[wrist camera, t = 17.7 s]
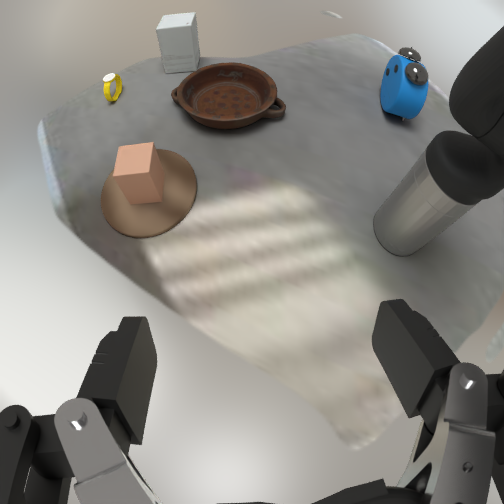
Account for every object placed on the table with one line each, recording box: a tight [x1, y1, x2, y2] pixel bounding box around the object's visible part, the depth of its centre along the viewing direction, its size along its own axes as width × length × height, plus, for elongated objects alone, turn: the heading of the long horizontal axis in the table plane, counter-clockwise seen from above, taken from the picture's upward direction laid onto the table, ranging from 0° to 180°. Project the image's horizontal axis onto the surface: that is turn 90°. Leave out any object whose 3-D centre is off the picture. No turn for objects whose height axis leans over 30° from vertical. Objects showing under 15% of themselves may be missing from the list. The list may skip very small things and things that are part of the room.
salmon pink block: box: [113, 142, 165, 205], centre depth 42 cm, size 5×5×8 cm
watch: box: [103, 73, 122, 101], centre depth 52 cm, size 6×3×6 cm, turn 174°
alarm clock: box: [381, 47, 428, 121], centre depth 49 cm, size 13×6×15 cm, turn 170°
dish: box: [171, 63, 286, 129], centre depth 52 cm, size 18×22×5 cm
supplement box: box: [156, 12, 200, 73], centre depth 53 cm, size 7×7×13 cm
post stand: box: [101, 149, 197, 238], centre depth 43 cm, size 16×16×7 cm
